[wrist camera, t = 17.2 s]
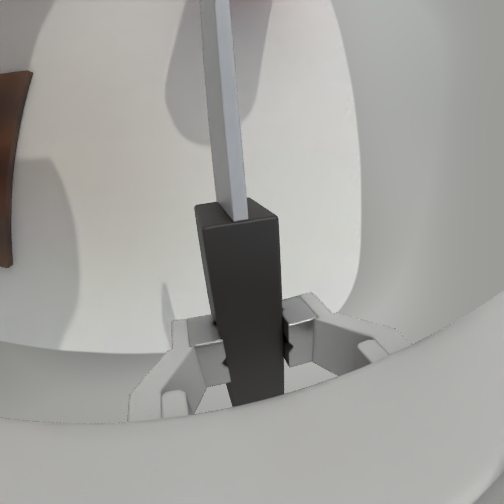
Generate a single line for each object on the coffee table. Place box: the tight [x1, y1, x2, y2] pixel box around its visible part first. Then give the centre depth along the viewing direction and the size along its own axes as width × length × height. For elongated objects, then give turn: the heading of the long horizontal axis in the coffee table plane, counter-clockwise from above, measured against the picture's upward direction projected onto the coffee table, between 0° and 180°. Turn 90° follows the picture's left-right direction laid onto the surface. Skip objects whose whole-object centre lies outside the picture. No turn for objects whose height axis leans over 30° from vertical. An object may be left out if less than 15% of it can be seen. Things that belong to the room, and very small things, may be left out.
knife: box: [194, 0, 284, 407], centre depth 8 cm, size 17×2×3 cm, turn 5°
